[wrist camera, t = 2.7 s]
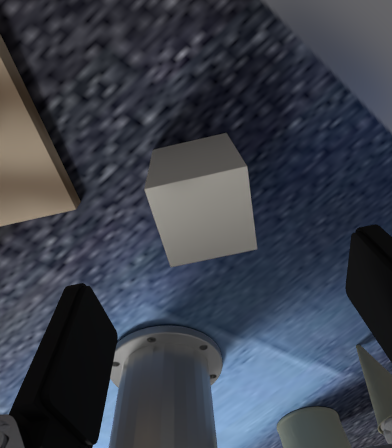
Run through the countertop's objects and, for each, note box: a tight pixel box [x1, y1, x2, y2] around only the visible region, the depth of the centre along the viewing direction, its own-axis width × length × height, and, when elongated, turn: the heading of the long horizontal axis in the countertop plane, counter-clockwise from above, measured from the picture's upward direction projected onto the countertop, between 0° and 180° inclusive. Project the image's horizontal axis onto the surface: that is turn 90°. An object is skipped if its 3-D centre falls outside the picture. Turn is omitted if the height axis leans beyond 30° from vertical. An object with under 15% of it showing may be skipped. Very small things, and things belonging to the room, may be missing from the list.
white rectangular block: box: [145, 133, 257, 267], centre depth 18 cm, size 5×5×7 cm
